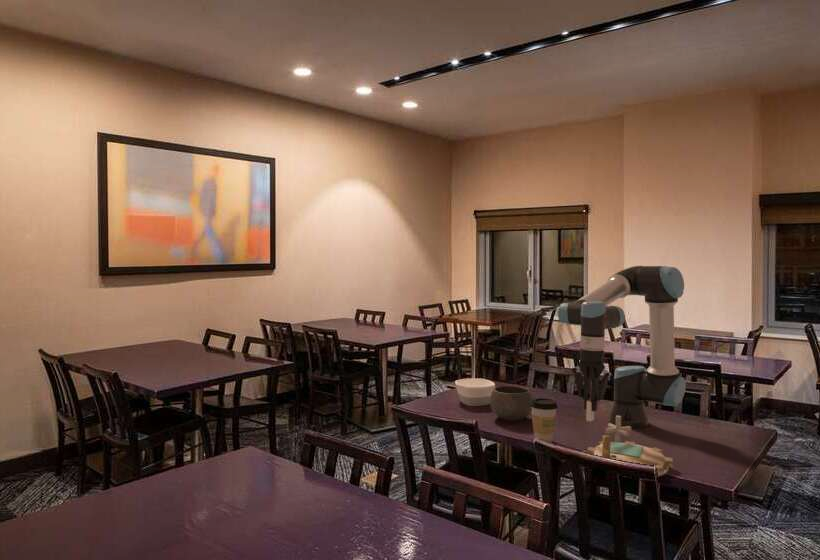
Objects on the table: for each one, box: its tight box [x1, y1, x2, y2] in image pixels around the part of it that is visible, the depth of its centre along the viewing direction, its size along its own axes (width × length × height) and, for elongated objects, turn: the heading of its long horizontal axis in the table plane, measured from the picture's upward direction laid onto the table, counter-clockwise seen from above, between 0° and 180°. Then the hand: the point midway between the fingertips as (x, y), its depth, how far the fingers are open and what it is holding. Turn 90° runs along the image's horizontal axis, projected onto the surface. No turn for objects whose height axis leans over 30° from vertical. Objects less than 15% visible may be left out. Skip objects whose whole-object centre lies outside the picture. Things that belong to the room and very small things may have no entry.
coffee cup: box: [530, 397, 559, 442], centre depth 206 cm, size 10×10×15 cm
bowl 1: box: [454, 377, 496, 407], centre depth 259 cm, size 18×18×9 cm
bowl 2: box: [489, 385, 534, 422], centre depth 234 cm, size 18×18×13 cm
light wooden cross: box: [604, 416, 633, 443], centre depth 204 cm, size 10×10×10 cm
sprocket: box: [587, 434, 674, 475], centre depth 184 cm, size 26×26×9 cm
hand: (590, 420), depth 184 cm, fingers closed
